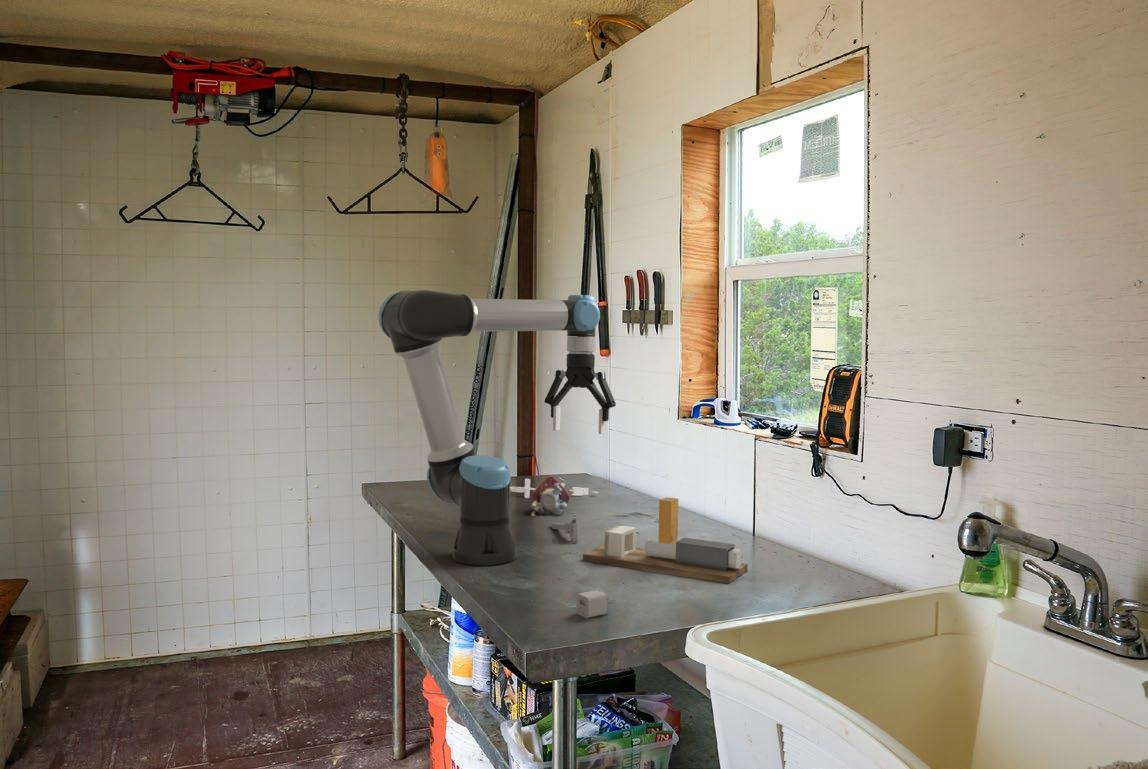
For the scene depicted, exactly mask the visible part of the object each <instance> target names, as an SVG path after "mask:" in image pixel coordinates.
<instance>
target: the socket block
mask: <svg viewBox="0 0 1148 769" xmlns="http://www.w3.org/2000/svg"><path fill="white" fill-rule="evenodd" d="M604 544H605V555H610V556H616V557H623V556H625V555H627V554H629V553H631V552H633V551H635V550H636V548H637V546H636V544H637V527H632V526H628V525H617V526H615V527H613V528H610V529H608V530H606V531H604Z"/></svg>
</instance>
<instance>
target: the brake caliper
mask: <svg viewBox="0 0 1148 769" xmlns="http://www.w3.org/2000/svg"><path fill="white" fill-rule="evenodd" d="M546 484H547V485H546ZM566 490H567V489H565V488H564V487H563V486H562V485H561V482H560V481H558V479H556V477H555V476H554V475H552V474H551V475H548V476H547V477H546V478H544V480H543V482H541V483H540V484H539V485H538V486H536V489H535V490H534V492H533V491H532V493H531V501H532V503H531V505H530V506H531V509H533V511H532V512H531V517H534V516H536V515H537V514H538V515H544V516H545V515H548V516H550V515H555V516H560V515H561V516H562V515H563V514H564V512H565V510H566V509H567V507H568V506H569V501H570V497H571V496H570V493H569V492H568V490H567V491H566ZM541 493H542V494H541Z"/></svg>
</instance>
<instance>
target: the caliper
mask: <svg viewBox="0 0 1148 769" xmlns="http://www.w3.org/2000/svg"><path fill="white" fill-rule="evenodd" d="M549 527H550V528H552V529H553V530H560V531H565V532H564V533H565V534H569V538H570V542H571V543H573V544H578V524H577V519H576V518H570V522H565V523H559V522H558V523H557V522H555V523H553V522H552V523H551V525H549Z"/></svg>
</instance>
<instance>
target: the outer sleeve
mask: <svg viewBox="0 0 1148 769" xmlns="http://www.w3.org/2000/svg"><path fill="white" fill-rule="evenodd" d="M731 548H732V549H735V544H734V543H727V542H720V541H713V540H705V539H698V538H688V537H683V538H681V539H679V540H678V541H677V542H676V564H680V565H686V566H693V567H699V568H706V569H713V570H719V571H728V570H729V569H731V568H730V567H727V551H728V550H730V549H731Z"/></svg>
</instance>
